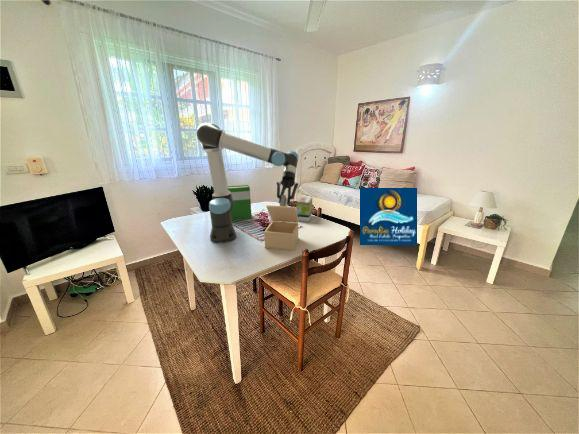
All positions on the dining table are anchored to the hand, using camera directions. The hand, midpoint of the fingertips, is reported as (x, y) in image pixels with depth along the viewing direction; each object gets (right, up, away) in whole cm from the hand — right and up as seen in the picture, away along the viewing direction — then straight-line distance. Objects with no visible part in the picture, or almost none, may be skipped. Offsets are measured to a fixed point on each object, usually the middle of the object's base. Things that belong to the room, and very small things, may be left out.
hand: (283, 208), depth 127 cm
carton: (-1, -19, +4) cm, 20 cm away
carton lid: (0, -3, +1) cm, 4 cm away
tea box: (+14, -6, +42) cm, 45 cm away
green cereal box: (-34, -6, +43) cm, 55 cm away
